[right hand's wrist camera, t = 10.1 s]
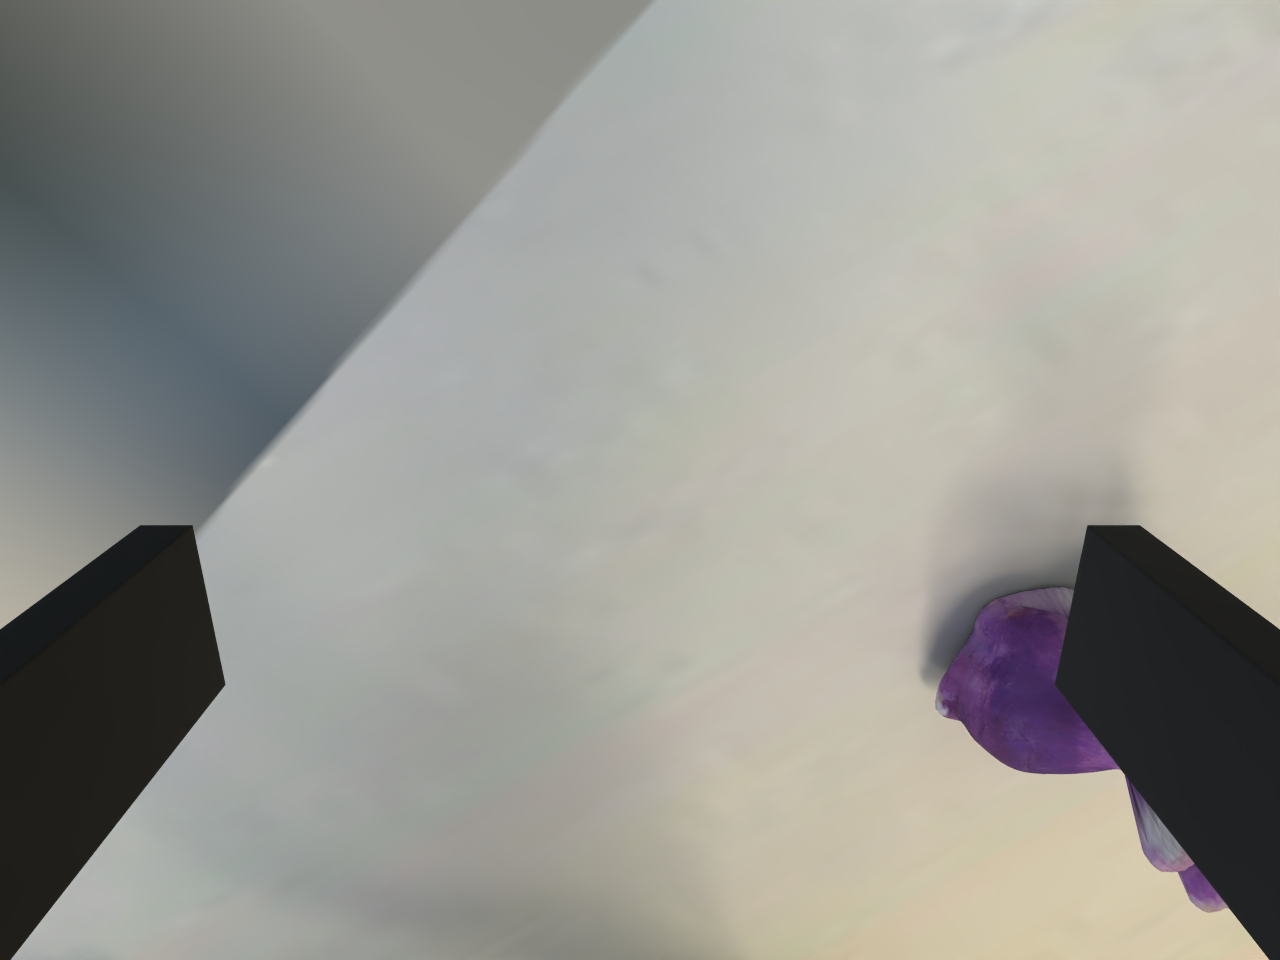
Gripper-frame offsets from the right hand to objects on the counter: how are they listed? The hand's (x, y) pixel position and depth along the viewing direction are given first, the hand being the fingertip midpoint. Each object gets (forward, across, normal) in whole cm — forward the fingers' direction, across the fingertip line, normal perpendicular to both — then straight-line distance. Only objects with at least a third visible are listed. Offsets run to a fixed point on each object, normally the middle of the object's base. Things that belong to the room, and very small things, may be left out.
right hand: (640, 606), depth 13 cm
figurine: (+28, -21, +18) cm, 39 cm away
